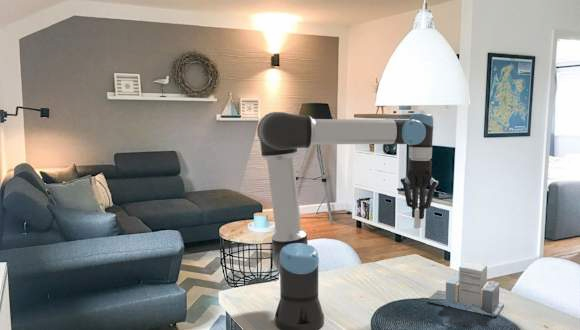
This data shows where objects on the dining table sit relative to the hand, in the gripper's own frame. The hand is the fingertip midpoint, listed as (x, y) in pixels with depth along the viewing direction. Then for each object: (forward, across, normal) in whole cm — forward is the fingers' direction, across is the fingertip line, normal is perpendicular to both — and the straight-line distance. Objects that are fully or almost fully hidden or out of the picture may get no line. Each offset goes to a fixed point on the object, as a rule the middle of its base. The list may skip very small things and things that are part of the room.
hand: (417, 227), depth 166 cm
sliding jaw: (+23, -13, -3) cm, 27 cm away
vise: (+24, -16, -3) cm, 30 cm away
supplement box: (+24, -18, -3) cm, 30 cm away
